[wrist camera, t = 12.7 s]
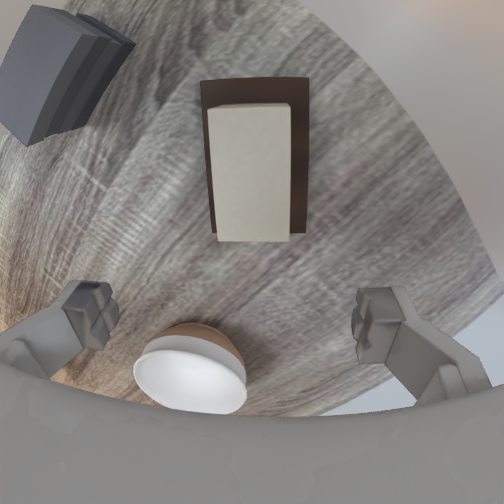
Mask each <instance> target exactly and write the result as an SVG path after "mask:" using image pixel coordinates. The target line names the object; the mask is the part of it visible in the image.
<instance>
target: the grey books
mask: <svg viewBox="0 0 504 504" xmlns="http://www.w3.org/2000/svg"><path fill="white" fill-rule="evenodd" d="M135 45H136V44H135V43H134V42H132V41H131V40H129V39H127V38H126V37H124V36H123V35H121V34H119V33H118V32H116V31H115V30H113V29H111V28H110V27H108V26H106V25H105V24H103V23H101V22H100V21H98V20H96V19H94V18H93V17H91V16H88V15H84V14H80V13H77V15H76V16H74V15H72V14H70V13H68V12H67V11H65V10H60V9H55V8H49V7H44V6H38V5H32V6H31V7H30V9H29V11H28V12H27V14H26V16H25V18H24V20H23V21H22V23H21V25H20V27H19V29H18V31H17V33H16V35H15V37H14V39H13V41H12V43H11V45H10V47H9V49H8V51H7V53H6V56H5V58H4V60H3V63H2V65H1V67H0V122H1V123H2V124H3V125H4V126H5V127H6V128H7V129H8V130H9V131H10V132H11V133H12V134H13V135H14V136H15V137H16V138H17V139H19V140H20V141H21V142H22V143H23V144H24V145H25V146H26V147H28V146H30V145H33V144H35V143H38V142H40V141H43V140H44V138H45V137H48V136H51V135H53V134H56V133H57V134H60V133H63V132H66V131H69V130H71V129H72V130H74V129H77V128H80V127H83V126H85V124H86V122H87V120H88V118H89V117H90V115H91V113H92V111H93V109H94V108H95V106H96V104H97V102H98V101H99V99H100V97H101V96H102V94H103V92H104V91H105V89H106V88H107V86H108V84H109V83H110V81H111V80H112V78H113V77H114V75H115V74H116V72H117V71H118V69H119V68H120V66H121V65H122V63H123V62H124V60H125V59H126V57H127V56H128V55H129V53H130V52H131V50H132V49H133V48H134V46H135Z"/></svg>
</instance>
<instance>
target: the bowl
mask: <svg viewBox="0 0 504 504" xmlns="http://www.w3.org/2000/svg"><path fill="white" fill-rule="evenodd" d="M133 373H134V378H135V380H136V382H137V384H138V385H139V387H140V388H141V389H142V390H143V391H144V392H145V393H146V394H147V395H148V396H149V397H151V398H152V399H153V400H155V401H156V402H158V403H160V404H162V405H163V406H166V407H168V408H171V409H178V410H185V411H193V412H202V413H212V414H224V415H225V414H229V413H232V412H234V411H236V410H237V409H239V408H240V407H241V406H242V405H243V404H244V403H245V401H246V398H247V389H246V387H245V383H246V370H245V364H244V361H243V359H242V357H241V355H240V353H239V352H238V350H237V349H236V347H235V346H234V345H233V344H232V343H231V341H230V340H229V339H228V338H227V337H226V336H225V335H224V334H223V333H222V332H220V331H219V330H217V329H215V328H213V327H210V326H207V325H204V324H200V323H182V324H178V325H176V326H174V327H171V328H168V329H165V330H163V331H161V332H160V333H158V334H156V335H155V336H154V337H153V338H151V339H150V341H149V342H148V344H147V345H146V346H145V348H144V350H143V352H142V355H141V357H140V358H139V359H137V361H136V362H135V364H134V368H133Z"/></svg>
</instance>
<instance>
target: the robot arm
mask: <svg viewBox="0 0 504 504" xmlns="http://www.w3.org/2000/svg"><path fill="white" fill-rule="evenodd" d="M112 293H113V291H112V289H111V286H110V284H108V283H106V282H97V281H87V280H72V281H70V282H69V283H68V284H67V286H66V287H65V288H64V289H63V291H62V292H61V293H60V294H59V296H58V297H57V298H56V299H55V301H54V302H53V303H52V304H51V306H50V307H48V306H47V307H45V308H43V309H41V310H40V311H38V312H36V313H34V314H33V315H31V316H29V317H27V318H26V319H24V320H22V321H21V322H19V323H17V324H15V325H14V326H12V327H10V328H9V329H7V330H5V331H4V332H2V333H1V334H0V504H504V384H502V385H498V386H495V387H492V385H491V383H490V381H489V378H488V376H487V374H486V372H485V370H484V368H483V365H482V363H481V361H480V359H479V357H477V356H476V355H474V354H473V353H471V352H470V351H469V350H468V349H466V348H465V347H464V346H462V345H461V344H459V343H458V342H457V341H455V340H454V339H452V338H451V337H450V336H448V335H447V334H445V333H444V332H443V331H441V330H440V329H438V328H437V327H436V326H434V325H433V324H431V323H430V322H428V321H427V320H426V319H425V320H421V318H420V316H419V314H418V312H417V310H416V307H415V305H414V303H413V301H412V300H411V298H410V296H409V294H408V292H407V290H406V288H405V287H404V286H392V287H377V288H359V289H358V291H357V295H356V301H357V306H356V307H355V308H354V309H353V313H352V321H351V328H352V335H353V338H354V339H355V340H356V341H358V342H357V345H356V352H357V357H358V361H359V364H380V363H385V364H384V365H385V366H386V367H387V368H388V369H389V370H390V371H391V372H392V373H393V374H394V375H395V376H396V378H397V379H398V380H399V381H400V382H401V383H402V384H403V385H404V386H405V387H406V388H407V390H408V391H409V392H410V393H411V394H412V395H413V396H414V397H415V398H416V399H417V402H416V403H415V405H414V406H412V407H405V408H399V409H392V410H385V411H377V412H368V413H358V414H348V415H347V414H346V415H332V416H310V417H260V416H238V415H224V414H212V413H202V412H193V411H185V410H178V409H171V408H164V407H158V406H152V405H146V404H141V403H136V402H131V401H126V400H121V399H117V398H112V397H108V396H104V395H100V394H96V393H92V392H88V391H84V390H81V389H77V388H74V387H70V386H67V385H64V384H60V383H57V382H54V381H51V380H50V377H52V376H53V375H54V374H55V373H56V372H57V371H59V370H60V369H61V368H62V367H63V366H64V365H66V364H67V363H68V362H69V361H70V360H72V359H73V358H74V357H75V356H76V355H77V354H79V353H80V352H81V351H82V350H83V349H84V348H88V349H94V350H101V351H103V350H104V348H105V346H106V344H107V342H108V340H109V339H110V334H109V332H110V331H111V330H113V329H114V328H115V327H116V325H117V323H118V319H119V308H118V305H117V302H116V301H115V300H114V299H113V298H112V297H111V296H112Z"/></svg>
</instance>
